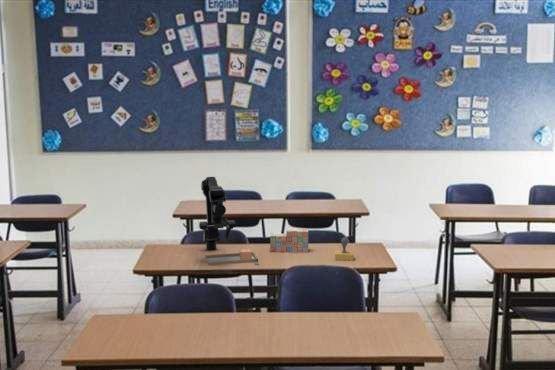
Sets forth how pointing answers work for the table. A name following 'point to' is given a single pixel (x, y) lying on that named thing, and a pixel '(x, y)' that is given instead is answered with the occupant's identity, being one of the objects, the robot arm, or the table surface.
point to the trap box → (229, 259)
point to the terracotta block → (245, 254)
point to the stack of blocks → (290, 241)
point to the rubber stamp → (344, 252)
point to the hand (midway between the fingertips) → (217, 240)
